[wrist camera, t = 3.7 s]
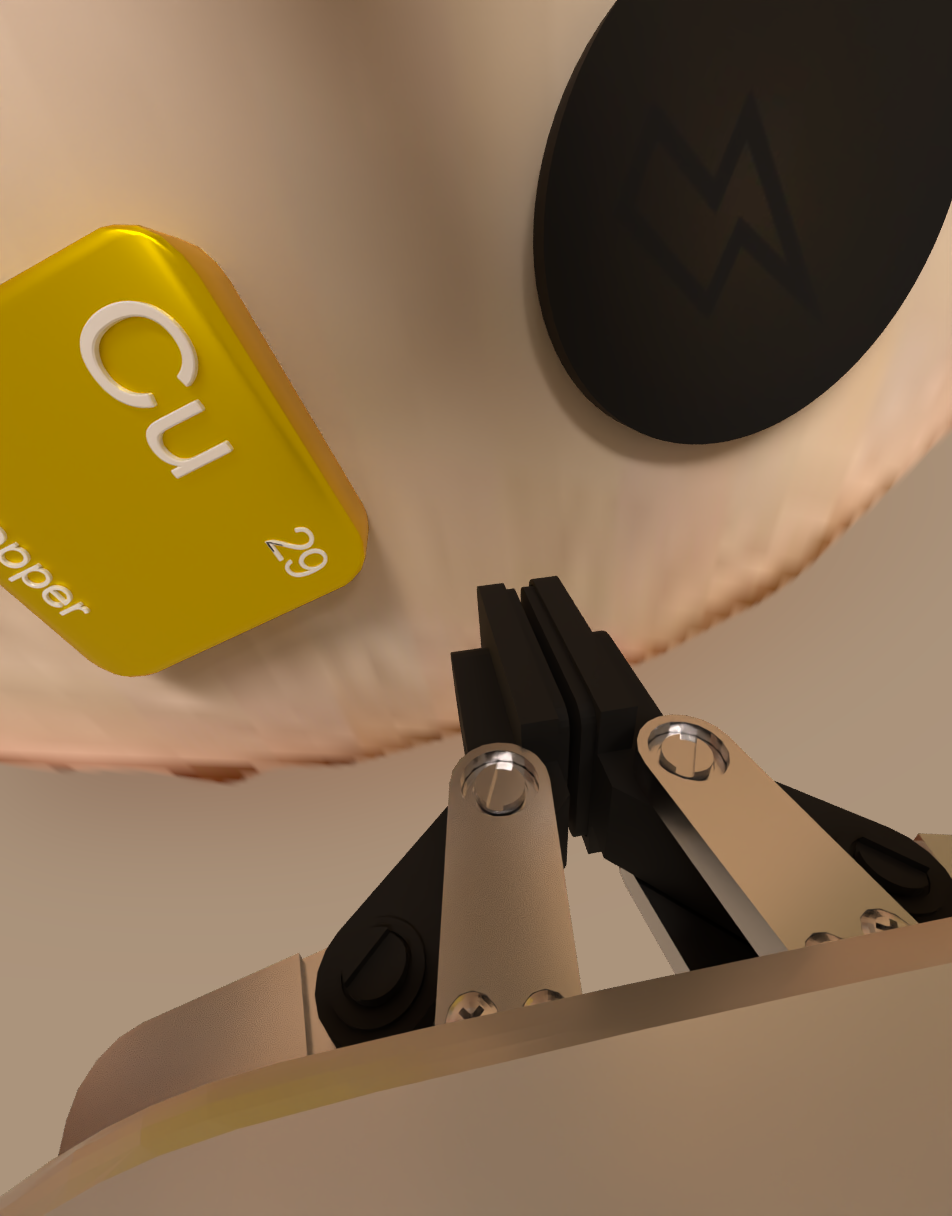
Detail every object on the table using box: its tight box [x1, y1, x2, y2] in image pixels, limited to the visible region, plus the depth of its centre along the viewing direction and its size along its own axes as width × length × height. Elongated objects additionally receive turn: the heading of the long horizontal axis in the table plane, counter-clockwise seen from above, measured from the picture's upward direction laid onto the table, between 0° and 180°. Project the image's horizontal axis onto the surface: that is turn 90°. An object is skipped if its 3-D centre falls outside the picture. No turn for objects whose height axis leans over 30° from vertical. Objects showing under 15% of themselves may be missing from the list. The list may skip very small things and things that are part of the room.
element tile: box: [0, 225, 369, 677], centre depth 22 cm, size 15×15×5 cm
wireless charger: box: [533, 0, 952, 444], centre depth 21 cm, size 18×18×2 cm
